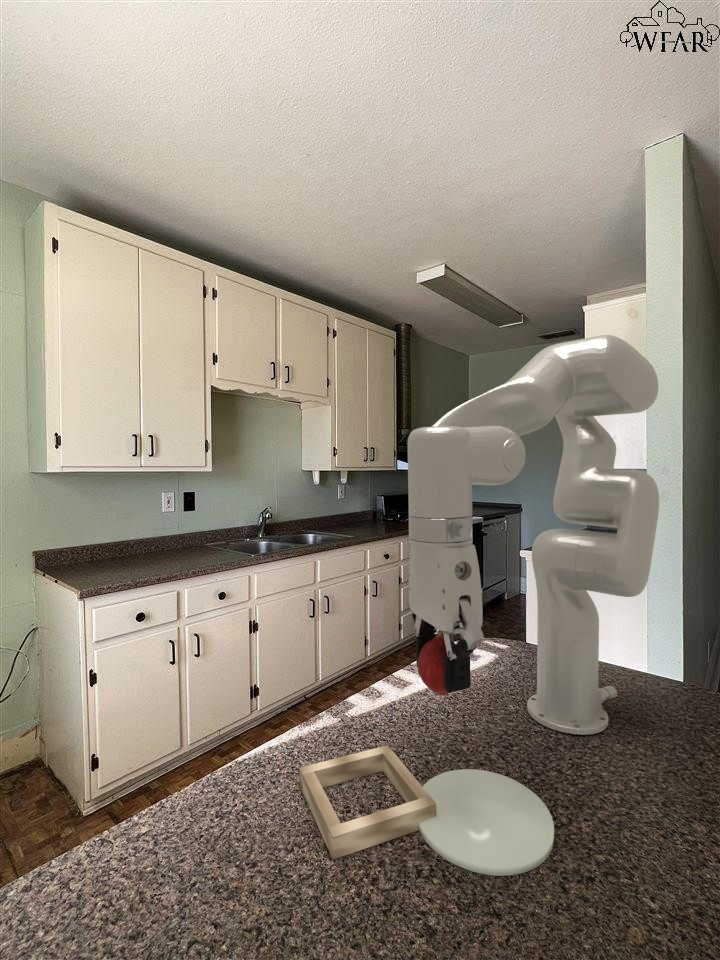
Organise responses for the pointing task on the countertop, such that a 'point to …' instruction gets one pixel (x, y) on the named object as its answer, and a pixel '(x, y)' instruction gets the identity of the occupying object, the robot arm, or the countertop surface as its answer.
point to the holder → (375, 825)
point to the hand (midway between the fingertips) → (442, 676)
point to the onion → (433, 664)
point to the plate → (487, 823)
